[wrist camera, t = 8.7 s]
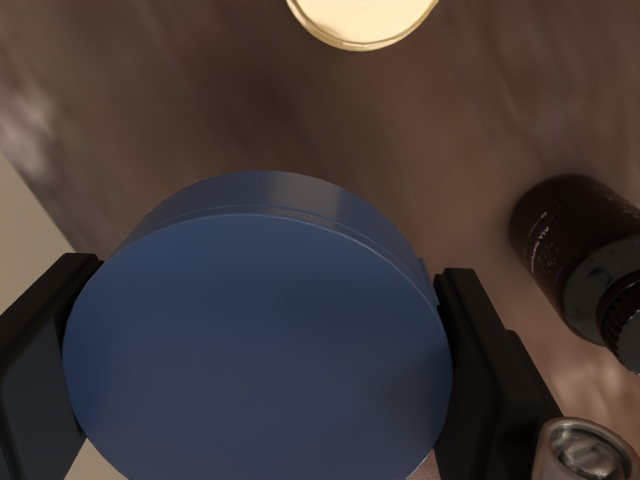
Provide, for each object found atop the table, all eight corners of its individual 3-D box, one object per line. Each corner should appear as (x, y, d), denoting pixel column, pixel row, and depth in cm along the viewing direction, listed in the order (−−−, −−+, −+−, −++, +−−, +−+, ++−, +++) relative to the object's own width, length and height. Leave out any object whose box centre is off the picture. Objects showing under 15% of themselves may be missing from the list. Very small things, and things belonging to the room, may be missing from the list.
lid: (345, 102, 9) (350, 129, 7) (481, 377, 11) (513, 457, 9) (44, 261, 10) (-26, 323, 8) (222, 475, 13) (201, 563, 11)
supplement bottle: (491, 205, 32) (572, 310, 22) (597, 153, 31) (742, 238, 20) (528, 285, 35) (618, 416, 24) (628, 242, 33) (771, 360, 23)
